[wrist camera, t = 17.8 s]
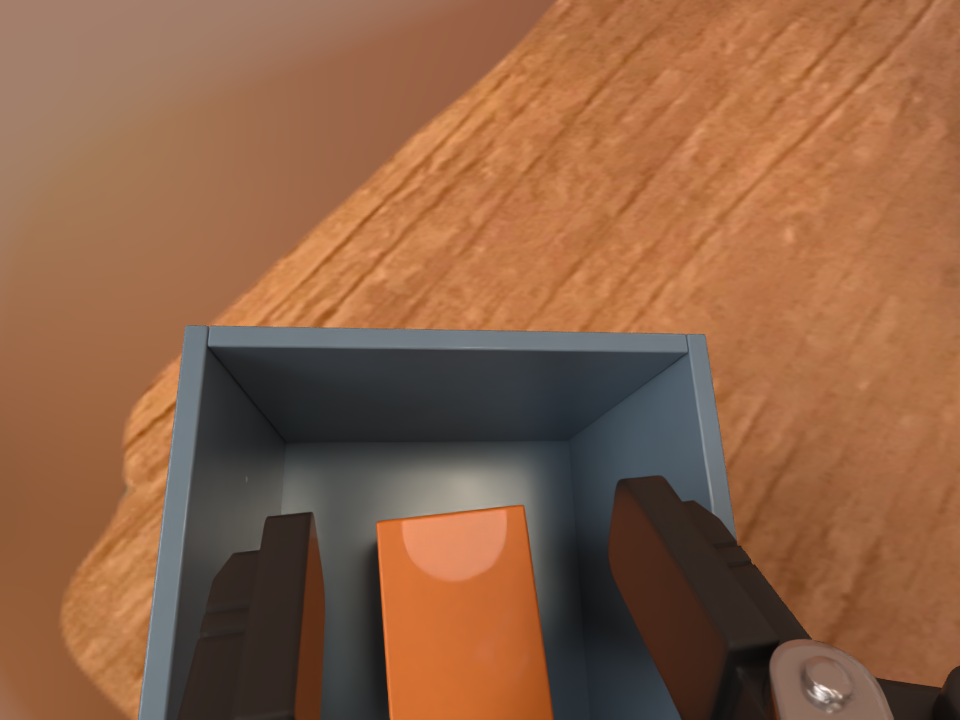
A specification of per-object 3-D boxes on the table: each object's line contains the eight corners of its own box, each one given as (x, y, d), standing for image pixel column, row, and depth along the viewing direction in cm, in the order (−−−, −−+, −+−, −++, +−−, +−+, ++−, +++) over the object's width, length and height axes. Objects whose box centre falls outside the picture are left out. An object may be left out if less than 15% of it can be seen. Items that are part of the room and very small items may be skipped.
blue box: (605, 797, 22) (810, 1015, 11) (248, 828, 20) (88, 1117, 10) (575, 431, 26) (705, 333, 15) (275, 432, 25) (184, 323, 14)
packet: (491, 677, 22) (558, 744, 14) (389, 694, 22) (393, 775, 13) (474, 526, 24) (525, 503, 15) (378, 538, 23) (375, 520, 15)
